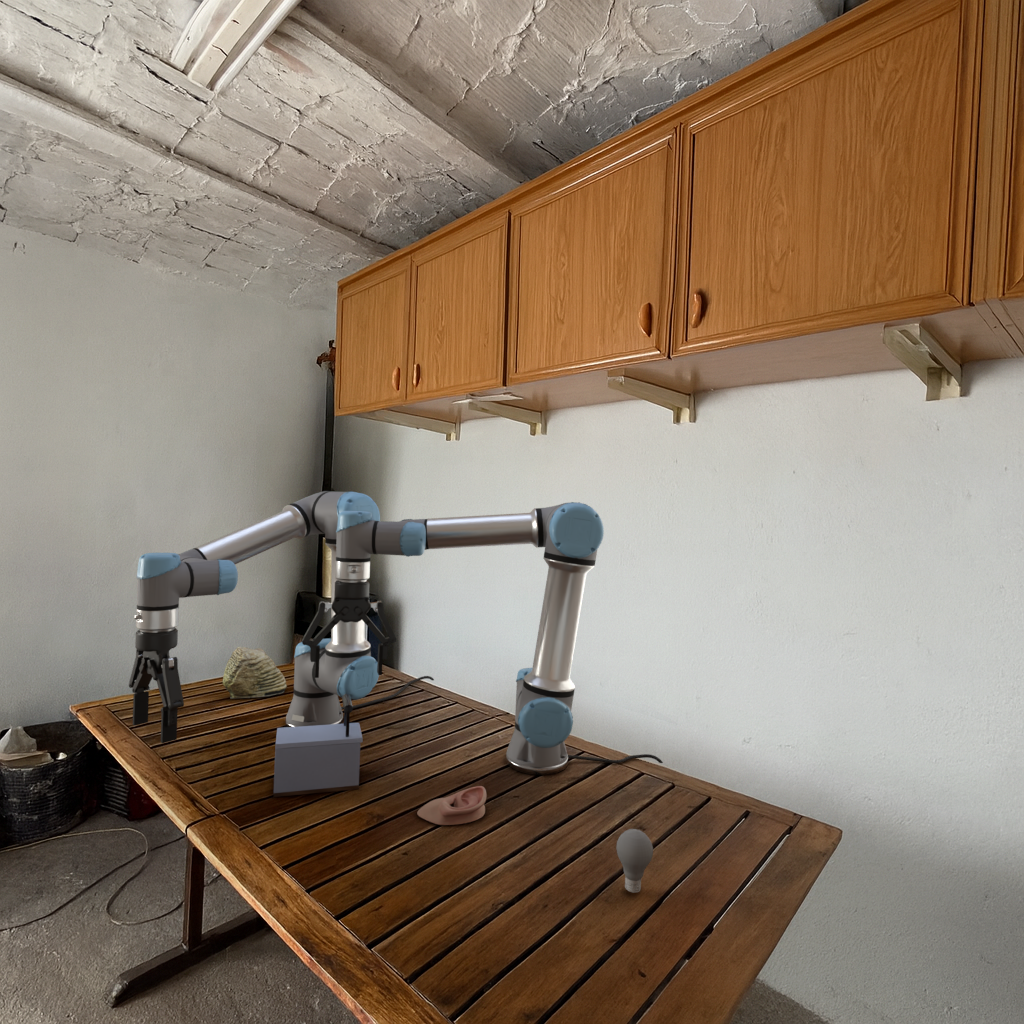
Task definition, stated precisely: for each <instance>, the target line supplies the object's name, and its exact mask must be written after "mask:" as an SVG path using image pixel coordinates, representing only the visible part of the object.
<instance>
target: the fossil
mask: <svg viewBox="0 0 1024 1024" xmlns="http://www.w3.org/2000/svg"><path fill="white" fill-rule="evenodd" d="M222 676H223V677H222V685H223V687H224V688H225V690H226V691H228V693H229V698H230V699H250V698H264V697H271V696H275V695H281V694H284V693H285V691H286V689H287V687H288V686H287V680H286V678H285V676H284V674H283V673H282V672H281V669H279V668H278V667H277V665H276V663H275V662H274V660H273V659H272V658H271V657H270V656H269V655H268V654H267V653H266V652H265V650H264V649H263V648H260V647H258V648H251V647H247V646H246V647H245V646H238V647H237V648H236V649H235V650H233V651H232V653H231V656H230V657H229V659H228V660H227V663H226V666H225V668H224V671H223V675H222Z"/></svg>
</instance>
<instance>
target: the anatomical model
mask: <svg viewBox="0 0 1024 1024" xmlns="http://www.w3.org/2000/svg"><path fill="white" fill-rule="evenodd" d="M487 796H488V795H487V789H486V788H485V787H484V786H482V785H477V786H473V787H469V788H466V789H463V790H460V791H457V792H456V793H454V794H451V795H448V796H446V797H440V798H436V799H433V800H430V801H429V802H427V803H426V804H424V805H423V806H421V807H420V808H419V809H418V811H416V812H417V816H418V817H419V818H421V819H423V820H425V821H427V822H429V823H432V824H435V825H439V826H454V825H462V824H468V823H471V822H475V821H477V820H479V819H481V818H483V817H484V815H485V813H486V806H485V803H486V802H487Z"/></svg>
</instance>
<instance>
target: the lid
mask: <svg viewBox="0 0 1024 1024" xmlns="http://www.w3.org/2000/svg"><path fill="white" fill-rule="evenodd" d="M341 702H342V707H344V710H343V723H341V724H330V725H315V726H300V727H287V726H284V727H276V736H275V748H274V749H278V748H292V747H305V746H319V745H332V744H345V743H359V742H360V743H363V734H362V729H361V725H360V722H351V721H350V717H351V713H352V712H353V711H354V709H353V706H354V705H353V702H352V699H351V697H350V695H349V694H344V695H343V696H342V697H341Z"/></svg>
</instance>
